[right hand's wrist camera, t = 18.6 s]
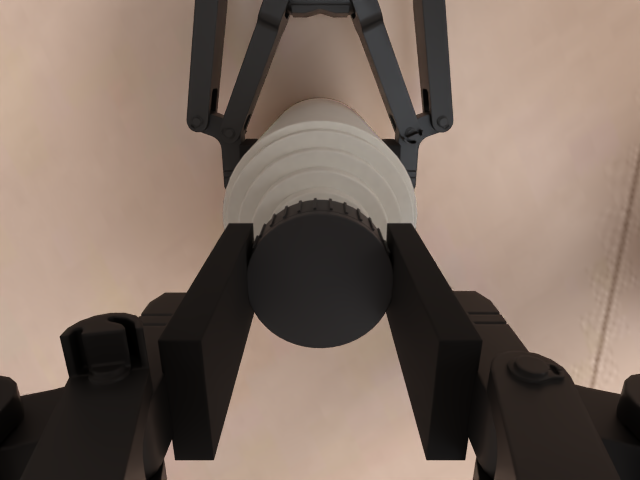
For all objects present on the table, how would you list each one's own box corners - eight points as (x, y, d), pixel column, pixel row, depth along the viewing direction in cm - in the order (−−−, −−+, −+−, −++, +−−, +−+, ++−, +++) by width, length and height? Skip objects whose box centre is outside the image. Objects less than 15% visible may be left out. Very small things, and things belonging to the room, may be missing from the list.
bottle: (314, 224, 36) (307, 427, 15) (244, 147, 34) (128, 264, 13) (394, 158, 34) (507, 289, 13) (325, 73, 32) (336, 74, 11)
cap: (411, 225, 14) (421, 242, 12) (358, 339, 15) (361, 367, 14) (276, 176, 13) (271, 189, 12) (234, 300, 15) (225, 324, 13)
